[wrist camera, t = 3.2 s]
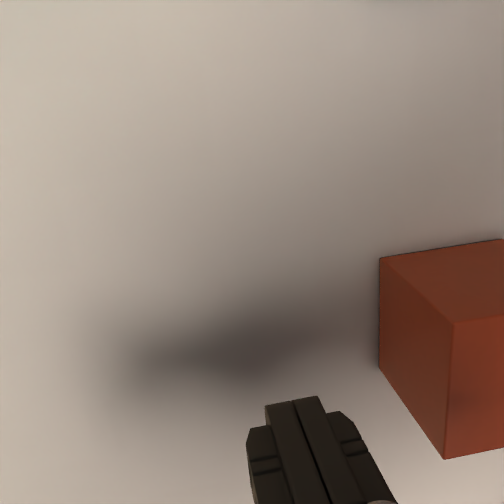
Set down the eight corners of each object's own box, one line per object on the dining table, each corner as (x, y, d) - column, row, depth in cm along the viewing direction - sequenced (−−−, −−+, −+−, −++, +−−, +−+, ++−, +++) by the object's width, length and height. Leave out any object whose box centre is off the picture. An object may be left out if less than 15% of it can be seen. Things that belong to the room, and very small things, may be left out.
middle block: (378, 257, 18) (453, 323, 13) (502, 237, 18) (615, 294, 14) (378, 368, 19) (443, 461, 15) (490, 348, 20) (586, 431, 15)
